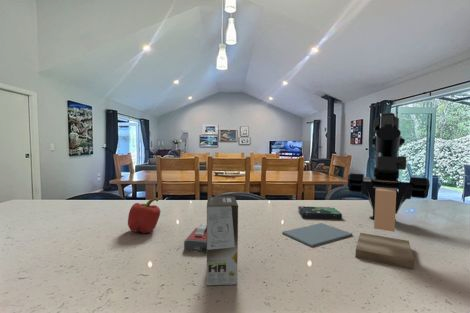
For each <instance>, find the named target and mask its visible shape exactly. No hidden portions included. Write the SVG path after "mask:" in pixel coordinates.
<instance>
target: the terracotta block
mask: <svg viewBox="0 0 470 313" xmlns="http://www.w3.org/2000/svg"><path fill="white" fill-rule="evenodd" d="M395 211H396V189H388V188H376V190H375V217H374V219H373V220H374V224H373V228H374V229H375V230H380V231H381V230H382V231H387V232H388V231H389V232H395V231H396V230H395V229H396V221H395V219H396V214H395Z"/></svg>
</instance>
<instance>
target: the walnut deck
mask: <svg viewBox="0 0 470 313" xmlns="http://www.w3.org/2000/svg"><path fill="white" fill-rule="evenodd" d="M355 258H359V259H363V260H367V261H372V262H376V263H377V262H378V263H382V264H386V265H391V266H396V267H401V268H405V269H409V270H414V269H415V258H414V256H413V251H412V247H411V244H410V240H406V239H401V238H396V237H395V238H394V237H389V236H382V235H378V234H377V235H375V234H372V233H363V232H359V236H358V239H357V243H356V247H355Z"/></svg>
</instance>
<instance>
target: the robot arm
mask: <svg viewBox="0 0 470 313" xmlns="http://www.w3.org/2000/svg"><path fill="white" fill-rule="evenodd" d="M399 128H400V118H399V117H397V116H396V115H395V113H393V112H381V113H379V114H378V116H376V117H375V118H374V119H373V132H375V135H374V136H372V148H374V150H375V162H374V168H373V178H372V177H370V176H364V175H365V174H364V173H354V172H353V173H351V172H350V173H349V174H348V175H347V188H348V191H350V192H353V193H361V195H363V196H365V197H366V199H367V200H368V202H369V204H370V206H371V209H372V215H371V216H369V219H371V220H374V217H375V190H376V188H388V189H396V211H395V215H397V214H398V213H399V210H400V209H401V206H402V205H403V204H404V202H405V201H406V200H411V199H412V198H417V199H426V198H428V194H429V190H430V186H431V184H430V180H429V179H428V178H427V177H420V176H418V177H417V176H416V177H415V176H410V177H409V182H408V181H406V182H405V181H401V180H399V179H400V170H402V171H403V170H404V171H406V169H407V156H405V155H403V156H402V155H399V153H398V151H399V149H400V148H402V146H403V145H404V144H405V142H406V141H405V138H403V137H402V135H401V133H402V132H401V130H400V129H399ZM396 221H397V219H396V218H395V222H396Z"/></svg>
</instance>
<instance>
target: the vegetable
mask: <svg viewBox="0 0 470 313" xmlns="http://www.w3.org/2000/svg"><path fill="white" fill-rule="evenodd" d="M159 200H160V199H159V197H153V198H150V199H149V200H148V201H147V202H146V203H139V202H136V203H135V202H134V203H133V204H132V206H131V207H130V209H129V212H128V218H127V226H128V228H129V230H130V231H131V232H141V234H148V233H151V232H153V231H154V230H155V228H156V226H157V224H158V221H159V219H160V215H161V209H160V207H159V206H158V205H154V204H153V205H151V204H152V203H153V202H155V201H156V202H159Z"/></svg>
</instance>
